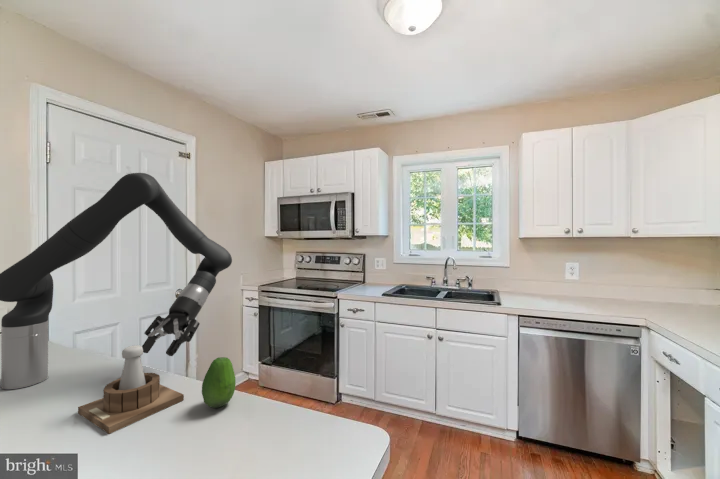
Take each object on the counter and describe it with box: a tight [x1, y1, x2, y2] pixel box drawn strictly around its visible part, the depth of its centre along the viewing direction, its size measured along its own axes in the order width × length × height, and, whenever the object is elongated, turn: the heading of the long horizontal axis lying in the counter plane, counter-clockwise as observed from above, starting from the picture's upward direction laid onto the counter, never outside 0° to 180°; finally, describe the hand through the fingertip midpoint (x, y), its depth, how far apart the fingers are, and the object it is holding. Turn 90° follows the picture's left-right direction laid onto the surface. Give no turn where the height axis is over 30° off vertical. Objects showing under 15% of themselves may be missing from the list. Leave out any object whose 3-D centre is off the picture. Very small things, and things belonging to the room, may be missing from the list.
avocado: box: [201, 356, 237, 409], centre depth 77 cm, size 8×8×12 cm
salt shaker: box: [118, 344, 146, 390], centre depth 77 cm, size 6×6×13 cm
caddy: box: [77, 372, 185, 435], centre depth 76 cm, size 16×16×6 cm
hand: (156, 353), depth 82 cm, fingers open, 8 cm apart
